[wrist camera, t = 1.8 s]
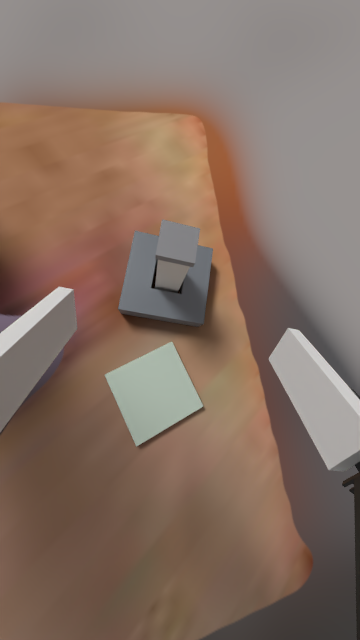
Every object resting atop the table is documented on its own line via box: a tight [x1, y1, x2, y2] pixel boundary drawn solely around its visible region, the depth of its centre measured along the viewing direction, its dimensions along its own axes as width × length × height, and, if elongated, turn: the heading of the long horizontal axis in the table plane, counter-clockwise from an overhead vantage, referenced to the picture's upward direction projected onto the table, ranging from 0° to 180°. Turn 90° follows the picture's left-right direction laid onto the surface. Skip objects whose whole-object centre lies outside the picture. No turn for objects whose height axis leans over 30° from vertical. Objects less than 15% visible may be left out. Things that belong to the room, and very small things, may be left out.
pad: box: [105, 342, 203, 447], centre depth 32 cm, size 12×12×1 cm
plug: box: [155, 220, 200, 293], centre depth 29 cm, size 5×5×14 cm
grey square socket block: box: [118, 231, 213, 327], centre depth 34 cm, size 14×14×4 cm
